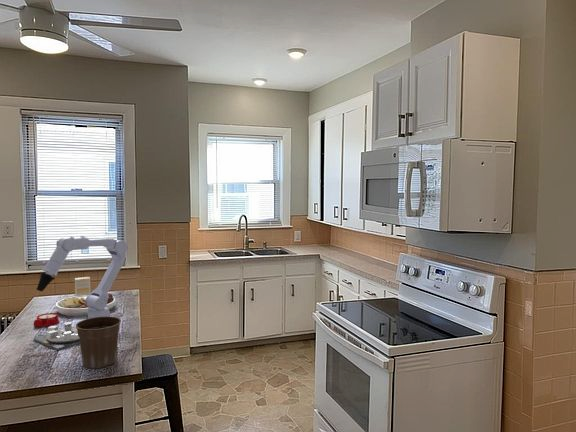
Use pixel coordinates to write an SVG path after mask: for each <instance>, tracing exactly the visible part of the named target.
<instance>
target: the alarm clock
mask: <svg viewBox="0 0 576 432" xmlns="http://www.w3.org/2000/svg"><path fill="white" fill-rule="evenodd" d="M58 324H60V320H59V313H56V312H48V313H42V314H39V315H37V316H36V319H35V320H33V326H34V327H35V328H37V329H38V328H42V327H47V328H48V327H50V326H56V325H58Z"/></svg>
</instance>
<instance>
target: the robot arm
mask: <svg viewBox="0 0 576 432" xmlns="http://www.w3.org/2000/svg"><path fill="white" fill-rule="evenodd" d="M55 245H56V247H55V249H54V251H53V253H52V254H51V256H50V257H49V260H48V261H47V263H46V265H45V266H44V267H41V268H40V270H42V271H44V272H42V273H40V276H39V277H40V278H39V281H38V285H37V287H36V290H37V291H39V292H44V291H45V289H46V288H47V287H48V286H49V284H50V283H51V282H52V281H54V280H55V279H56V278H55V277H56V276H58V272H59V271H60V270H61V268H62V265H63V264H64V262H65V261H66V259H67V257H68V255H69V254H70V252H73V251H79V250H87V249H89V247H103V248H105V249H106V250H107V252H108V253H109V255H110V257H111V259H112V260H111V262H110V263H109V266H108V267H107V269H106V271H105V272H104V275H103V277H102V278H101V280H100V282H99V283H98V285H97V287H96V288H94V289H93V290H92V291H91V294H90V295H88V296H87V298H86V300H85V303H86V305H87V306H88V316H87V317H88V318H87V319H89V318H94V317H111V311H110V310H109V309H108V308H107V307H106V305H107V300H108V298H109V296H108V293H109V290H110V289H111V288H112V285H113V284H114V282H115V280H116V278H117V276H118V274H119V272H120V271H121V269H122V267H123V265H124V263H125V262H126V256H127V251H128V245H127V242H126V241H125V240H119V239H114V238H105V237H103V238H93V239H92V238H91V239H89V238H88V237H87V236H85V235H80V237H79V236H78V237H75V236H70V237H61V238H59V239H58V240H56V243H55ZM53 276H55V277H53Z"/></svg>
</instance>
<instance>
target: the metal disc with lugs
mask: <svg viewBox="0 0 576 432" xmlns="http://www.w3.org/2000/svg"><path fill="white" fill-rule="evenodd" d="M45 335H46V340H47V341H48V342H52V343H68V342H74V341H78V340H80V339H79V336H78V331H77V328H76V326H73V325H72V321H67V322H66V321H65V322H64V327H62V328H59V326H58V325H54V326H50V327H48V326H47V331H46V334H45Z"/></svg>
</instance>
